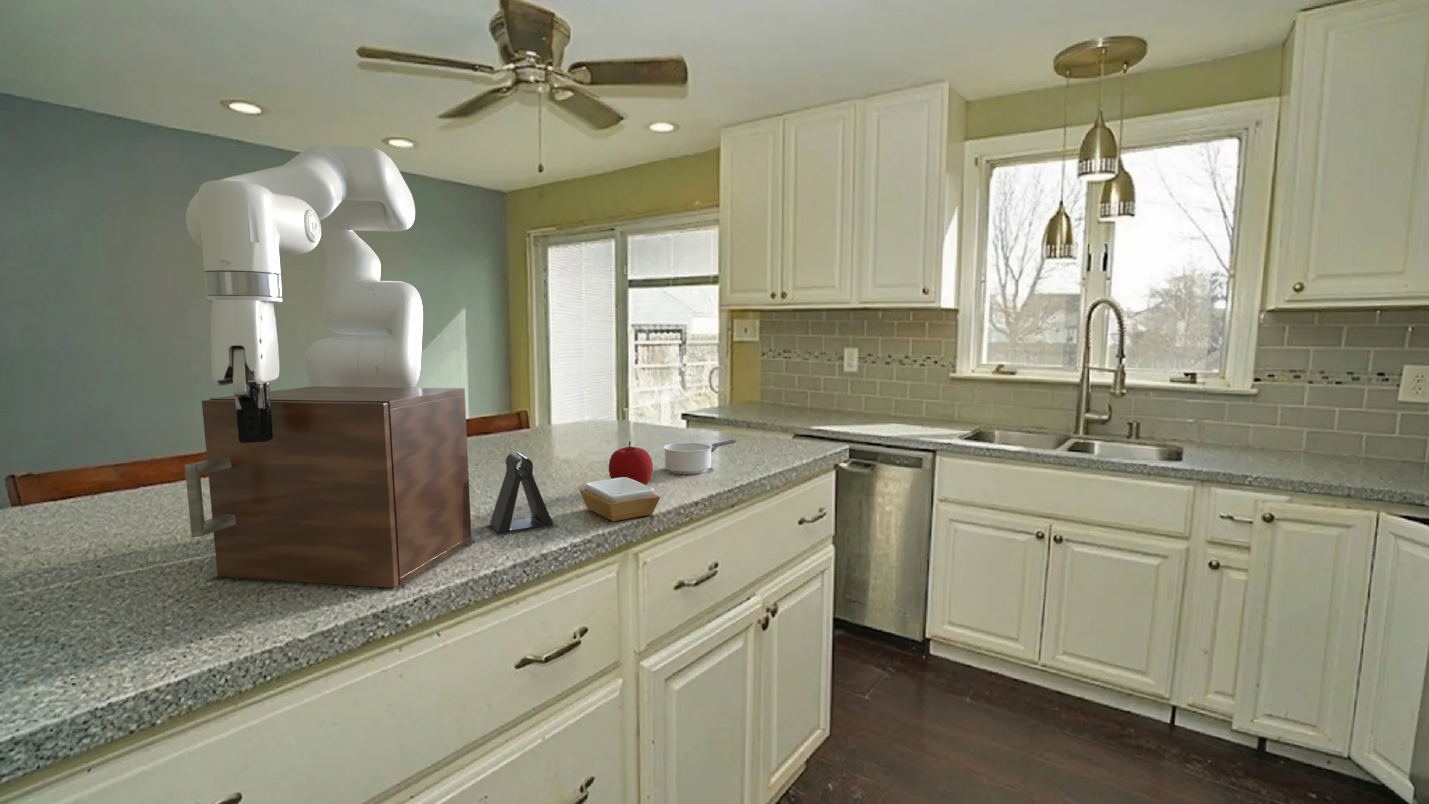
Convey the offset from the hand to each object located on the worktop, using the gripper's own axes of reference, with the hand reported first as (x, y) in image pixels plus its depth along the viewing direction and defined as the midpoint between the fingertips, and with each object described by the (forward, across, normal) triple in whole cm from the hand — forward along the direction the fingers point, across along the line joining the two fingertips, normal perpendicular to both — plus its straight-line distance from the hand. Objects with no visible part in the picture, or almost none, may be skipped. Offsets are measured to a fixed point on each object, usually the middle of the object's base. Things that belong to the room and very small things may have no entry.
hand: (256, 440), depth 82 cm
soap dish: (+19, -20, +50) cm, 57 cm away
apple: (+19, -37, +56) cm, 70 cm away
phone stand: (+19, -18, +32) cm, 42 cm away
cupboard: (+19, -11, +9) cm, 24 cm away
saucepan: (+19, -50, +77) cm, 93 cm away
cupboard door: (+19, 0, +2) cm, 19 cm away
